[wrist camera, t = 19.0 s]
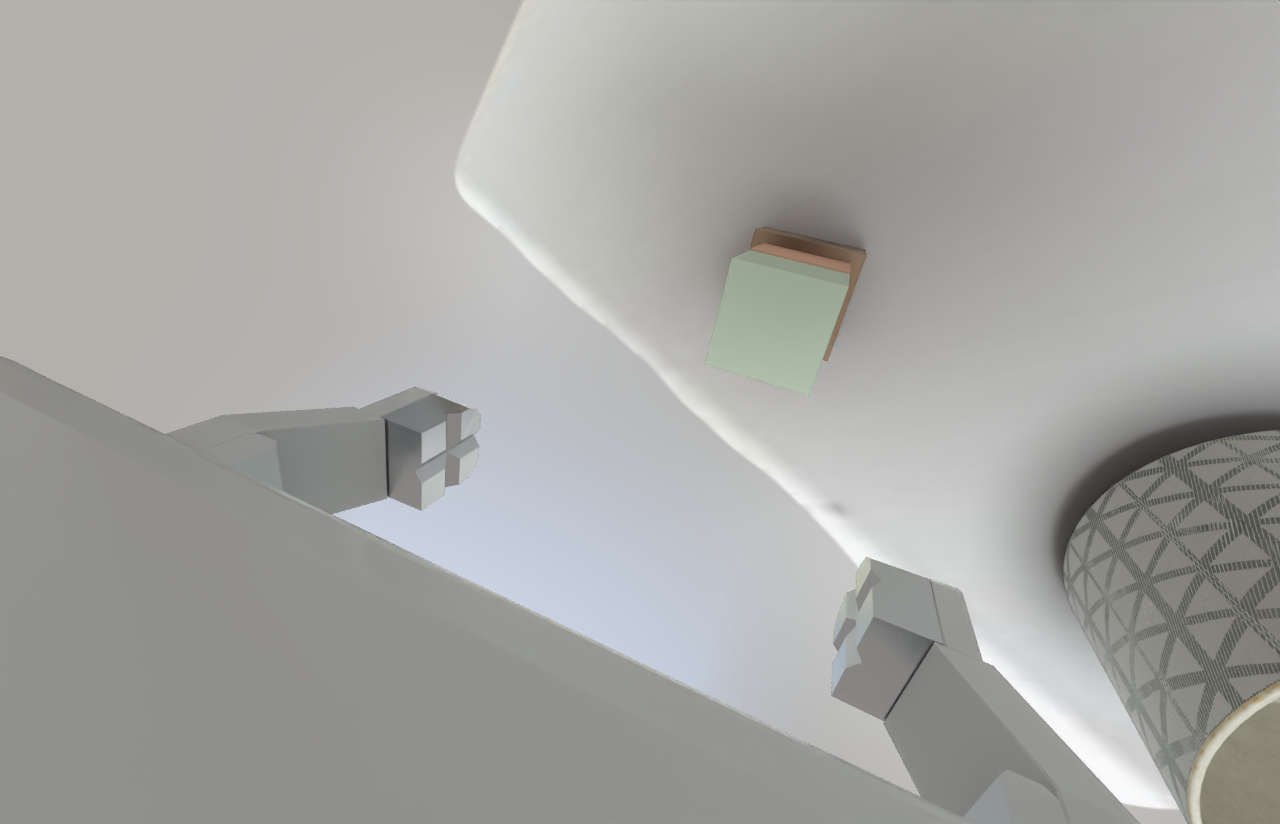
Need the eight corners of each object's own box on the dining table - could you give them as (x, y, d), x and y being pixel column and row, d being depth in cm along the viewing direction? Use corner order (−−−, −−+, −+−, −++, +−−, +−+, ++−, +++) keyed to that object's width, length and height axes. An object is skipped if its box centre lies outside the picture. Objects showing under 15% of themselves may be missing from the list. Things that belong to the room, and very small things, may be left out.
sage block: (849, 274, 27) (848, 286, 23) (815, 368, 30) (809, 396, 26) (750, 250, 29) (731, 257, 25) (725, 342, 31) (704, 363, 27)
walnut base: (865, 250, 35) (866, 255, 31) (829, 347, 38) (827, 361, 34) (764, 227, 37) (755, 229, 33) (738, 321, 40) (727, 332, 36)
